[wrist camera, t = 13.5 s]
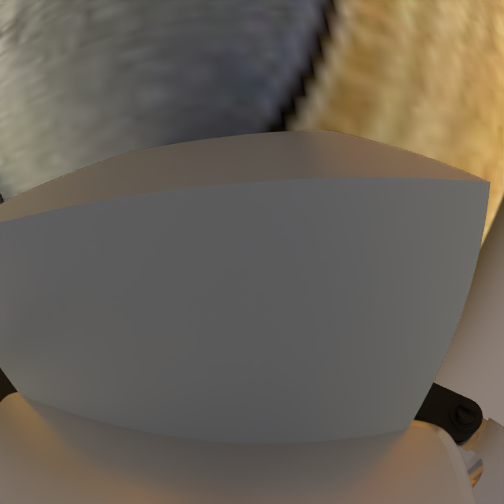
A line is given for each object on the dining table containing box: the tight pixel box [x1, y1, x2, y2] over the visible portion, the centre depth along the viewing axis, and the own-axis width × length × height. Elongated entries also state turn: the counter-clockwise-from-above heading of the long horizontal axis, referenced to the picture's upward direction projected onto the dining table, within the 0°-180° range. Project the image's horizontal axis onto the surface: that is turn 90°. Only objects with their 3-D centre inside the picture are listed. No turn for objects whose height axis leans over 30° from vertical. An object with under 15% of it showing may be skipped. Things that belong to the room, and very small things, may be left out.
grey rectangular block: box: [0, 130, 490, 444], centre depth 9 cm, size 13×8×9 cm, turn 6°
